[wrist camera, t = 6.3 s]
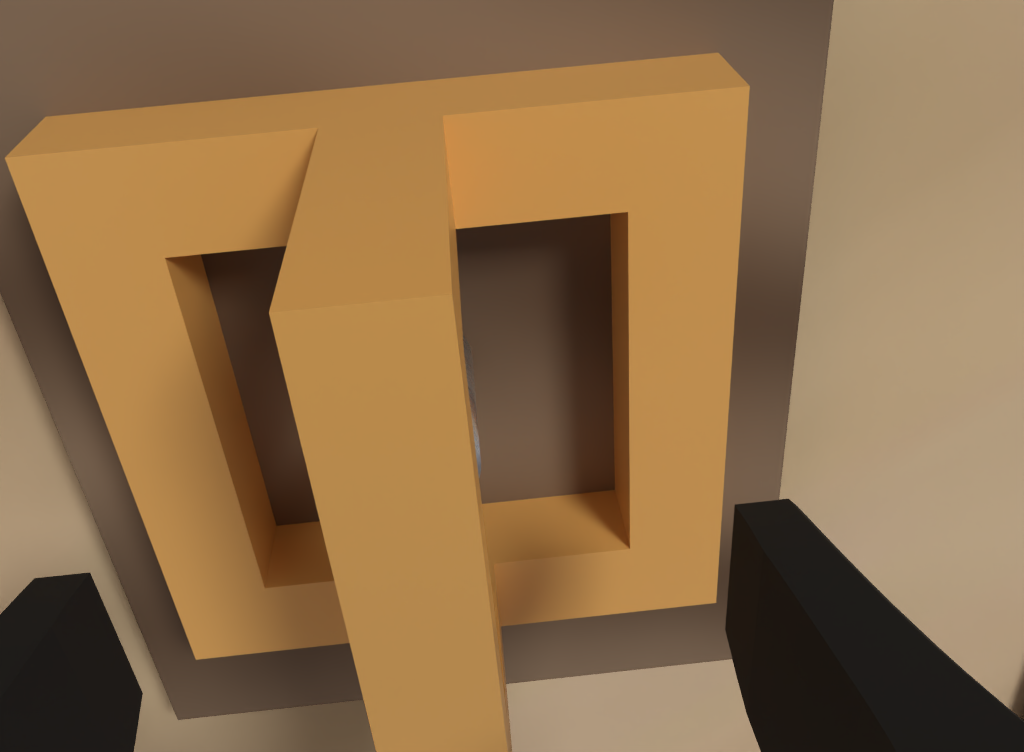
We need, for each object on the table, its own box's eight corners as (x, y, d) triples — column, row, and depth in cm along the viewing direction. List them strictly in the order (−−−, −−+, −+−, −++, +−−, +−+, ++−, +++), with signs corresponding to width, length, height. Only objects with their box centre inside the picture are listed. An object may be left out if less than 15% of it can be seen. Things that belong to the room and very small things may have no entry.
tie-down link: (695, 542, 18) (801, 852, 13) (211, 594, 18) (129, 929, 13) (718, 52, 13) (903, 249, 8) (45, 116, 13) (-197, 358, 8)
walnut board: (748, 618, 21) (762, 655, 20) (188, 679, 20) (177, 719, 20) (854, -496, 11) (890, -516, 10) (-240, -410, 10) (-297, -422, 10)
